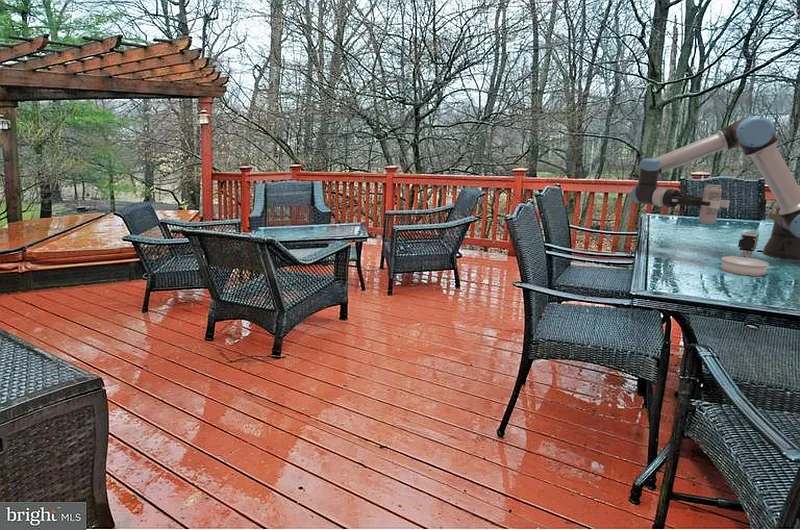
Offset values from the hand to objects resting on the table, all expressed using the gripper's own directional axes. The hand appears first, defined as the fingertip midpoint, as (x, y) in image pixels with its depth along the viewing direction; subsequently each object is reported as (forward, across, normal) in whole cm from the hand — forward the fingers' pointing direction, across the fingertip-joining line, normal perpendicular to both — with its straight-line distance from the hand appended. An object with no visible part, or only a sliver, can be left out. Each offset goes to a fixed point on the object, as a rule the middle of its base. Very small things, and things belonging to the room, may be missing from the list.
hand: (724, 204), depth 193 cm
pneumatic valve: (+1, -21, -24) cm, 32 cm away
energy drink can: (-5, 0, -8) cm, 10 cm away
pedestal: (+11, 0, -24) cm, 26 cm away
